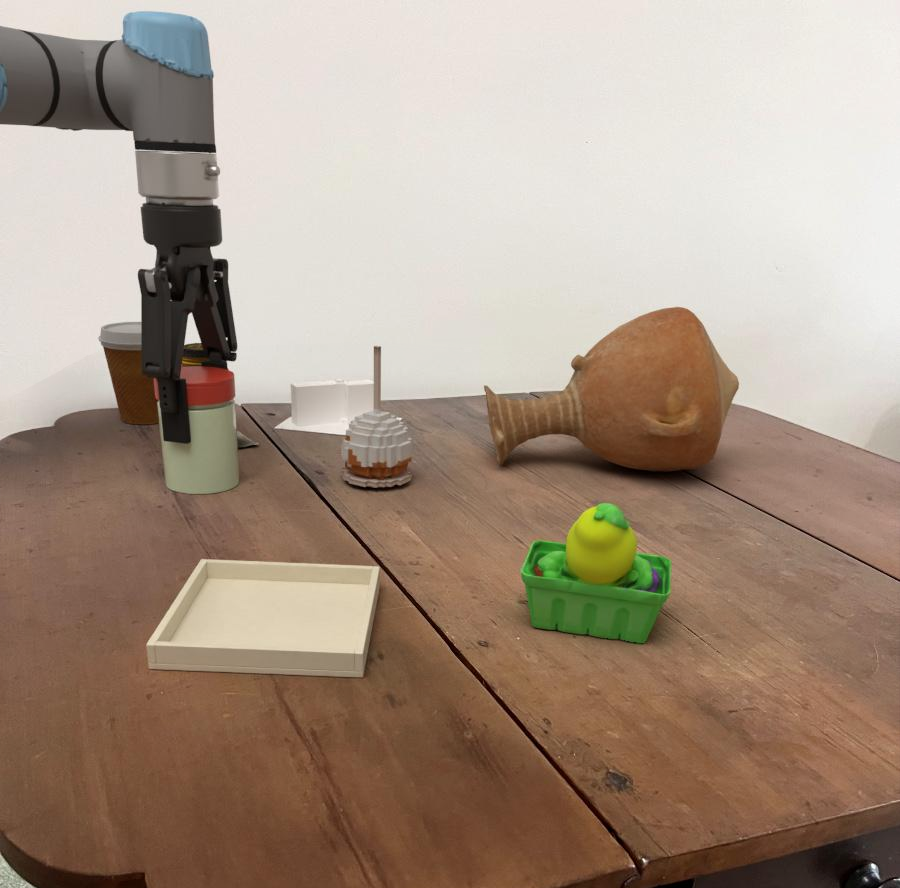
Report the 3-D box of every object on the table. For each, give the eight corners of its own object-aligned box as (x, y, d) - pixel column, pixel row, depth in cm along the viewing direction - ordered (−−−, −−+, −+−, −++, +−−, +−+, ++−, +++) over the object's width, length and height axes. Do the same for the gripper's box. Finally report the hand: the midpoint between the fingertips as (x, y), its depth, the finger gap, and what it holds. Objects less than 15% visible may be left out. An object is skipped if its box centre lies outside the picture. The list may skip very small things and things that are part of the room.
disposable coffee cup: (93, 418, 123) (81, 326, 117) (151, 406, 130) (142, 318, 125) (139, 432, 118) (129, 336, 113) (197, 418, 125) (189, 327, 120)
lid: (172, 385, 101) (171, 364, 100) (245, 389, 101) (244, 368, 100) (142, 402, 94) (140, 380, 93) (221, 408, 93) (219, 385, 92)
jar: (155, 492, 98) (145, 389, 93) (176, 469, 105) (167, 373, 100) (230, 495, 98) (224, 393, 93) (246, 472, 105) (240, 376, 100)
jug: (783, 400, 96) (499, 427, 95) (736, 499, 113) (495, 523, 112) (736, 263, 105) (477, 287, 104) (699, 374, 122) (475, 395, 121)
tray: (148, 669, 65) (145, 644, 64) (202, 580, 79) (200, 558, 78) (362, 677, 65) (362, 653, 64) (379, 587, 79) (380, 566, 78)
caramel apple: (367, 466, 109) (368, 336, 103) (423, 478, 106) (427, 345, 99) (328, 483, 103) (325, 346, 96) (386, 496, 100) (387, 356, 93)
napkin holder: (273, 428, 122) (271, 385, 120) (301, 408, 132) (300, 368, 130) (382, 438, 120) (382, 395, 117) (403, 417, 130) (403, 377, 127)
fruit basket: (663, 611, 77) (683, 483, 72) (660, 662, 69) (683, 521, 64) (528, 593, 79) (539, 467, 74) (511, 640, 71) (522, 502, 66)
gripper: (157, 207, 79) (180, 462, 89) (263, 200, 97) (272, 411, 107) (80, 203, 81) (111, 453, 91) (198, 196, 99) (213, 405, 109)
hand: (198, 430), depth 99 cm, fingers closed on lid, 8 cm apart
